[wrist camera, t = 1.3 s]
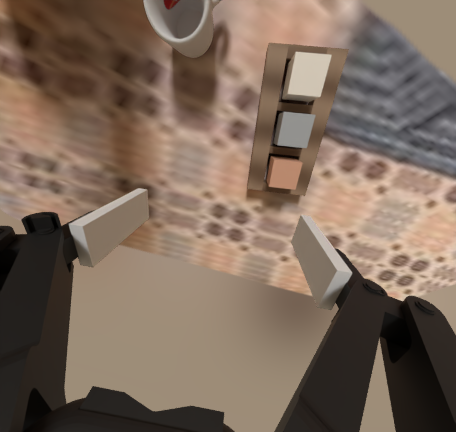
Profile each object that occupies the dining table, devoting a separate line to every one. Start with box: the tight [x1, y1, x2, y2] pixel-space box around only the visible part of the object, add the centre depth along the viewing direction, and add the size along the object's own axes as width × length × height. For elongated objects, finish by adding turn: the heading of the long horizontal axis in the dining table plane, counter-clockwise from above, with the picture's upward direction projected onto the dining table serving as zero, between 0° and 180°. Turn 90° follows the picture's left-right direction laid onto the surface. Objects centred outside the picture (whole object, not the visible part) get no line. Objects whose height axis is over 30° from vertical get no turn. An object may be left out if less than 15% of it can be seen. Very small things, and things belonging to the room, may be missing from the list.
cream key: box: [282, 52, 332, 102], centre depth 25 cm, size 4×4×4 cm
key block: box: [247, 43, 349, 196], centre depth 31 cm, size 21×11×3 cm, turn 175°
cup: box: [143, 0, 221, 58], centre depth 24 cm, size 11×8×8 cm
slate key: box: [273, 112, 315, 148], centre depth 28 cm, size 4×4×4 cm
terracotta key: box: [266, 156, 303, 190], centre depth 31 cm, size 4×4×4 cm
